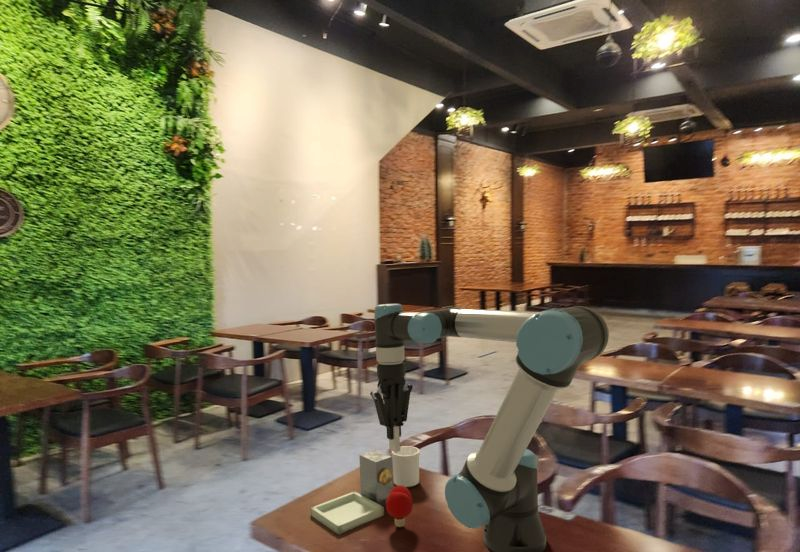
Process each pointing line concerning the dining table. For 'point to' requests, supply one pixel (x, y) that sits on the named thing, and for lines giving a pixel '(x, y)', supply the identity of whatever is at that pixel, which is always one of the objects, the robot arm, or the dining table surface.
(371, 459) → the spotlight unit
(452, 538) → the dining table surface
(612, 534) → the dining table surface
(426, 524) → the dining table surface
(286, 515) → the dining table surface
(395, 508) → the red rounded piece
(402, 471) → the mug
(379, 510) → the tray
